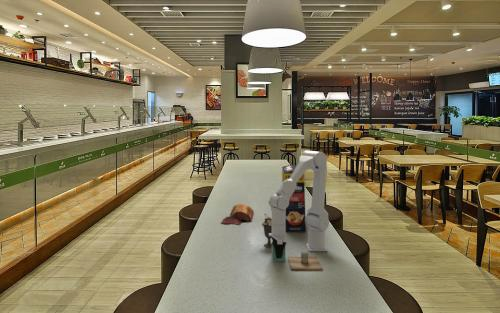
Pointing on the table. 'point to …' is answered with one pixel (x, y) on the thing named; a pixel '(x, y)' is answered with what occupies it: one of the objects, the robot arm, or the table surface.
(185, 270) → the table surface
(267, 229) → the sundae
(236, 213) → the cured meat
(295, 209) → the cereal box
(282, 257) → the teal block
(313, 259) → the stand
